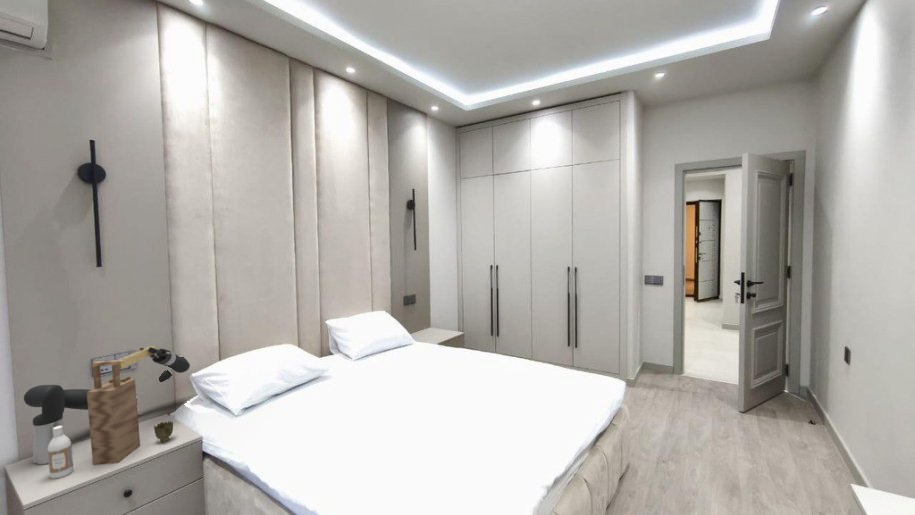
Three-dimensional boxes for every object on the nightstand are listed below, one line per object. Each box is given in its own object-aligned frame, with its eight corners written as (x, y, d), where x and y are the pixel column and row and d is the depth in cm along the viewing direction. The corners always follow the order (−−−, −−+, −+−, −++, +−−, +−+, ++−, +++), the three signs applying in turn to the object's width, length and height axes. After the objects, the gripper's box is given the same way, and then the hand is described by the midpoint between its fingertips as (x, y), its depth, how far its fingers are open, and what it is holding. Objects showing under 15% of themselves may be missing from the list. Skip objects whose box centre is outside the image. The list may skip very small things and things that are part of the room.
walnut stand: (92, 465, 170) (84, 365, 167) (116, 447, 183) (109, 355, 181) (118, 462, 171) (110, 364, 168) (140, 445, 185) (133, 354, 182)
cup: (166, 444, 185) (165, 428, 185) (151, 445, 185) (149, 428, 185) (178, 436, 192) (176, 420, 192) (163, 436, 193) (161, 420, 192)
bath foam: (47, 481, 159) (43, 433, 158) (52, 473, 165) (48, 426, 163) (71, 475, 163) (67, 428, 161) (75, 467, 168) (71, 421, 167)
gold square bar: (113, 369, 179) (112, 362, 178) (150, 352, 204) (149, 346, 204) (121, 369, 179) (120, 361, 179) (157, 352, 205) (156, 345, 205)
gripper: (176, 363, 212) (158, 356, 197) (148, 365, 211) (127, 358, 195) (179, 349, 216) (162, 341, 200) (151, 351, 214) (131, 343, 199)
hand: (145, 349), depth 198 cm, fingers closed on gold square bar, 3 cm apart
